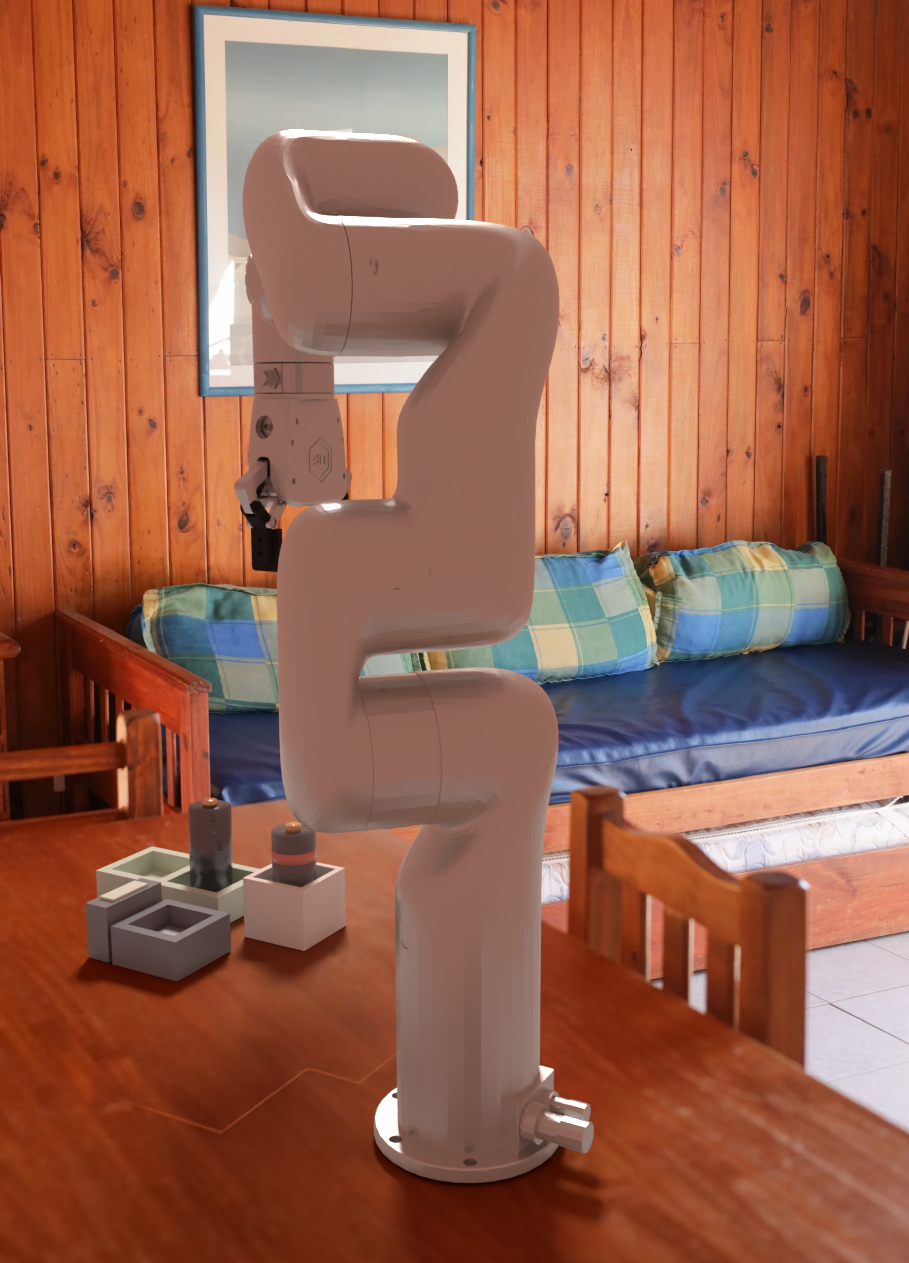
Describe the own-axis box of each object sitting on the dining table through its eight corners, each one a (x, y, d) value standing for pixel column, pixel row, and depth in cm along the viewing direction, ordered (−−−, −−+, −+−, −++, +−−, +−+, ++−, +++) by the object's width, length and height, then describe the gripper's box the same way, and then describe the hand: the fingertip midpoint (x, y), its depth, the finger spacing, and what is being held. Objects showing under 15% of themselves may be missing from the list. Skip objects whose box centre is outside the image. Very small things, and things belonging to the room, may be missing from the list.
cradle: (231, 951, 119) (229, 894, 119) (177, 981, 113) (174, 922, 112) (144, 929, 124) (141, 875, 123) (87, 957, 118) (84, 900, 117)
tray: (271, 900, 131) (270, 871, 131) (219, 929, 124) (217, 898, 124) (153, 874, 138) (152, 846, 138) (97, 899, 132) (96, 870, 131)
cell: (241, 893, 130) (239, 797, 129) (215, 907, 127) (213, 808, 125) (208, 886, 132) (206, 791, 131) (181, 899, 129) (179, 802, 127)
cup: (345, 925, 125) (344, 819, 123) (304, 951, 119) (301, 840, 118) (287, 912, 128) (285, 809, 126) (244, 936, 123) (241, 829, 121)
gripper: (270, 383, 117) (275, 578, 120) (377, 383, 132) (379, 557, 135) (203, 383, 121) (209, 573, 124) (314, 384, 136) (317, 553, 139)
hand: (298, 564), depth 130 cm, fingers open, 9 cm apart
